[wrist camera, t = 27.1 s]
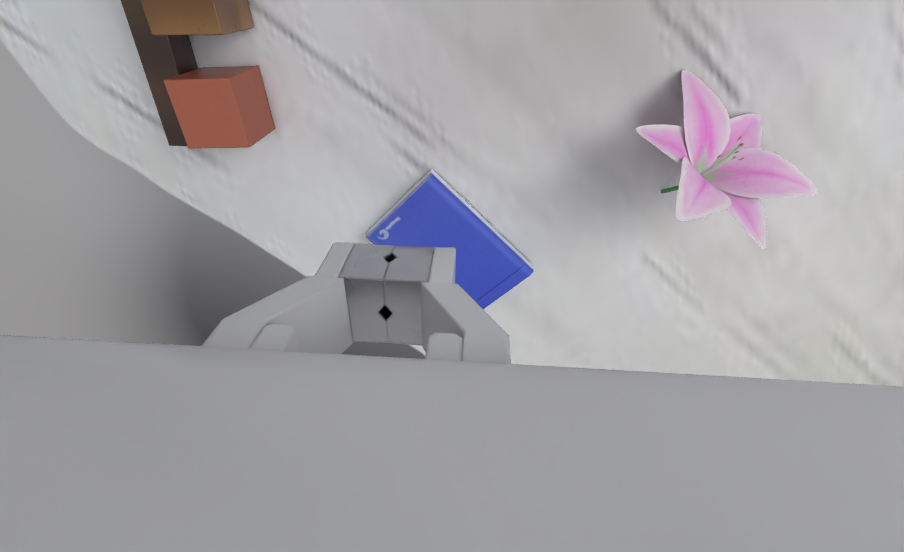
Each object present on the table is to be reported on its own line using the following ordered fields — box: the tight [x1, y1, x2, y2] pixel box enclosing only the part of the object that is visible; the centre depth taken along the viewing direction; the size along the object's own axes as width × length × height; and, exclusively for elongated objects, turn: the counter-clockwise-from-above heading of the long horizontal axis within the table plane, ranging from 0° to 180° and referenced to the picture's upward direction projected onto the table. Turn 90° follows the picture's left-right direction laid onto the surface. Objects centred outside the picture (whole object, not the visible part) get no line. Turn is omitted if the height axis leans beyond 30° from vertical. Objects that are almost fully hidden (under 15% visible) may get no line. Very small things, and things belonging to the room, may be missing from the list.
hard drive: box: [366, 169, 533, 309], centre depth 39 cm, size 2×8×12 cm
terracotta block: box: [164, 66, 275, 149], centre depth 32 cm, size 4×4×4 cm
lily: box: [635, 69, 818, 250], centre depth 31 cm, size 12×12×10 cm
